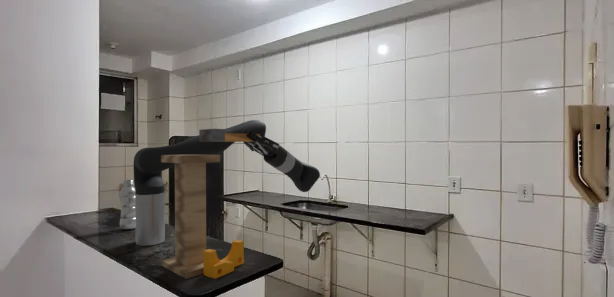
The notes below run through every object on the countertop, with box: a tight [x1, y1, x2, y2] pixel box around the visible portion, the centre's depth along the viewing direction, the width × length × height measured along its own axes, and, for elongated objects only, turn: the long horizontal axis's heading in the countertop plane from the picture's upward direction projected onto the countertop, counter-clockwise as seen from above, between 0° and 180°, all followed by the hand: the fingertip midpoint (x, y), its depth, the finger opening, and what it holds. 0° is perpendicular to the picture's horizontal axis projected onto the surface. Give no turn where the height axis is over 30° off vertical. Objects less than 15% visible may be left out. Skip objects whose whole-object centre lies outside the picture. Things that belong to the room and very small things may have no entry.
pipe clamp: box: [203, 239, 245, 279], centre depth 88 cm, size 12×4×6 cm, turn 147°
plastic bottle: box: [118, 179, 136, 231], centre depth 133 cm, size 6×7×20 cm
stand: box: [161, 154, 221, 280], centre depth 90 cm, size 14×10×31 cm
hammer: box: [198, 128, 260, 143], centre depth 101 cm, size 8×19×4 cm, turn 138°
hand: (245, 133), depth 104 cm, fingers closed on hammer, 2 cm apart
